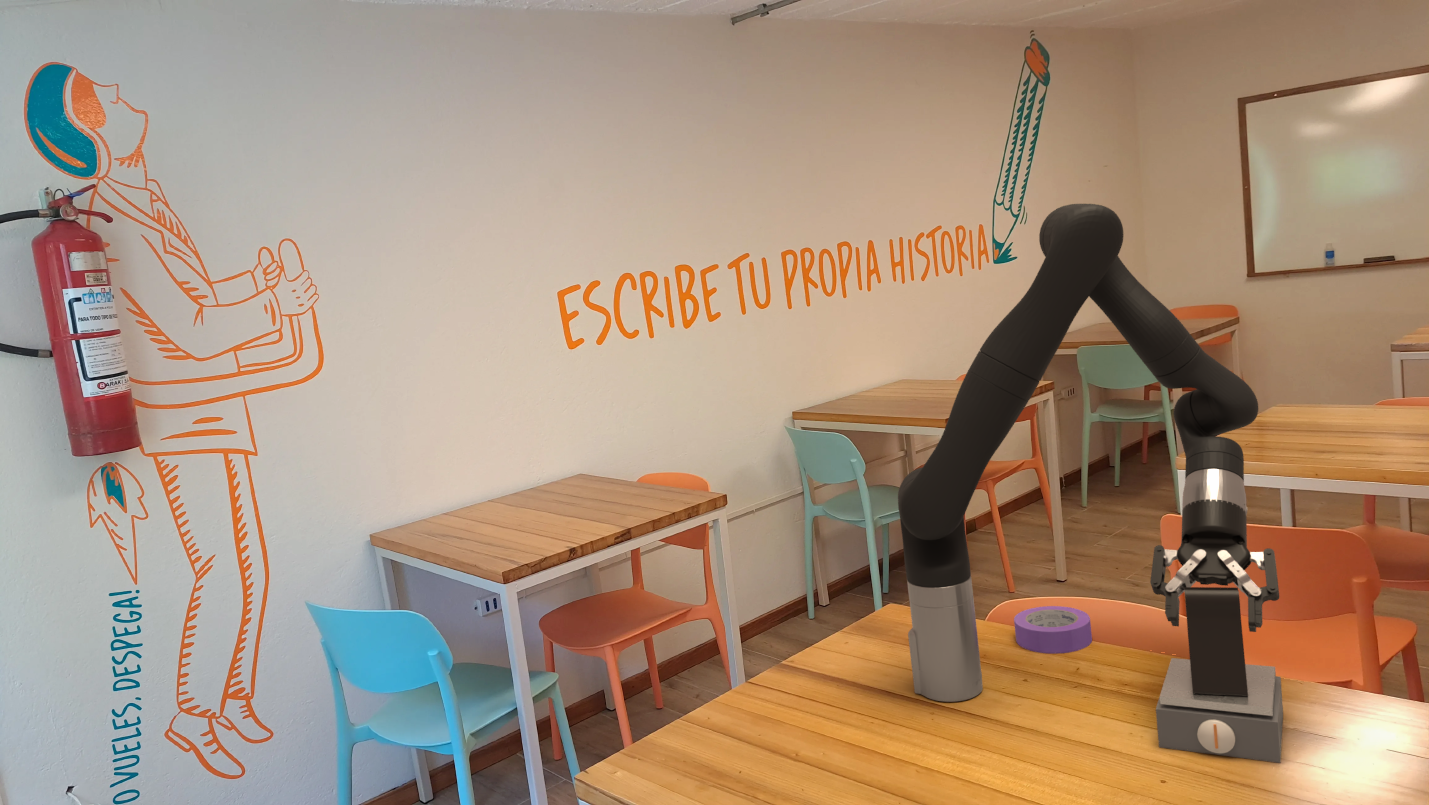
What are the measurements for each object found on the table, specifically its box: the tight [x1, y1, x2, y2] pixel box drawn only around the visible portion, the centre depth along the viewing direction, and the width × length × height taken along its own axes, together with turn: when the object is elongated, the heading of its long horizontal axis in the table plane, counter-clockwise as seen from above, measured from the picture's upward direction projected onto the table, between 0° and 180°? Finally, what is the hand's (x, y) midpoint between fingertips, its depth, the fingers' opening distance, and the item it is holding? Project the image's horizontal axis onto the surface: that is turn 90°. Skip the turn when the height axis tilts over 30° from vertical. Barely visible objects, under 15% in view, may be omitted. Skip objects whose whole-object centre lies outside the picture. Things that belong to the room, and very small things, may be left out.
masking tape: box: [1013, 605, 1093, 655], centre depth 155 cm, size 12×12×4 cm
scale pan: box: [1159, 657, 1277, 716], centre depth 120 cm, size 12×12×1 cm
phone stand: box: [1184, 586, 1248, 696], centre depth 119 cm, size 9×6×12 cm, turn 155°
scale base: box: [1155, 675, 1284, 764], centre depth 120 cm, size 13×14×5 cm
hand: (1212, 626), depth 118 cm, fingers open, 8 cm apart
